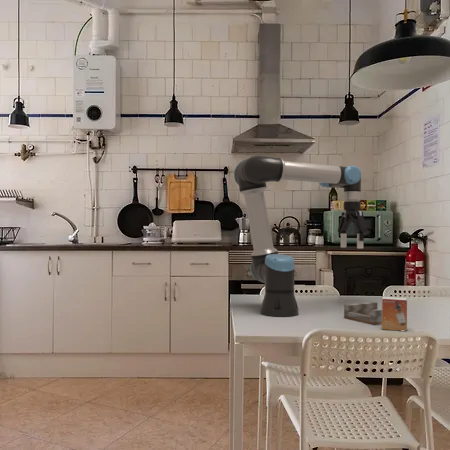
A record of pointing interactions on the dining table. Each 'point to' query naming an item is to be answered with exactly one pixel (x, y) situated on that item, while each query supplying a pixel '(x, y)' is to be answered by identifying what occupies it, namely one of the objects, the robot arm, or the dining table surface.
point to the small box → (394, 313)
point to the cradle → (364, 313)
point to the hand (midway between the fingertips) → (351, 248)
